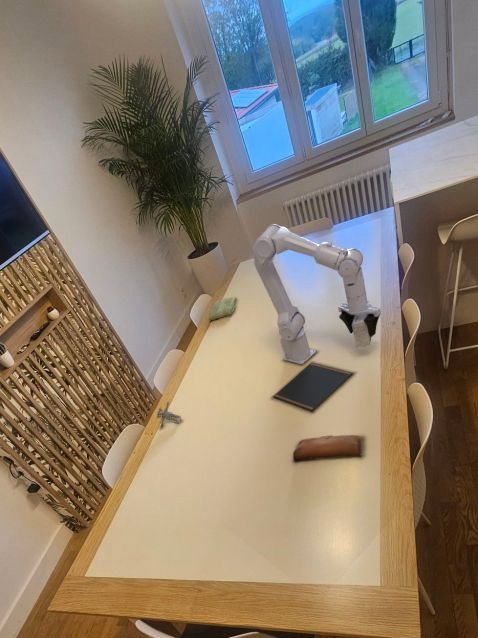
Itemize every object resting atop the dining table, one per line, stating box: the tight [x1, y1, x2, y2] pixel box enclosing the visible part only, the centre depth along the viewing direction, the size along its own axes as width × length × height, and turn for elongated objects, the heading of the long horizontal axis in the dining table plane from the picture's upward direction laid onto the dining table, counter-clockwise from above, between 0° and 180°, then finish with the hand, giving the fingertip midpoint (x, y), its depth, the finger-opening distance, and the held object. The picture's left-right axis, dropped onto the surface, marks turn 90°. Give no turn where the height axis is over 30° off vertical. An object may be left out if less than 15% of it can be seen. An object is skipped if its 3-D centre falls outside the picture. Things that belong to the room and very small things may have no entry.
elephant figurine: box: [156, 401, 182, 429], centre depth 150 cm, size 10×6×9 cm
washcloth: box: [209, 296, 238, 321], centre depth 204 cm, size 13×18×3 cm
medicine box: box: [352, 314, 372, 348], centre depth 132 cm, size 8×4×9 cm, turn 162°
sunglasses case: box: [292, 434, 363, 461], centre depth 112 cm, size 18×7×7 cm
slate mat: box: [272, 362, 354, 413], centre depth 136 cm, size 18×20×1 cm
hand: (362, 333), depth 133 cm, fingers closed on medicine box, 7 cm apart
